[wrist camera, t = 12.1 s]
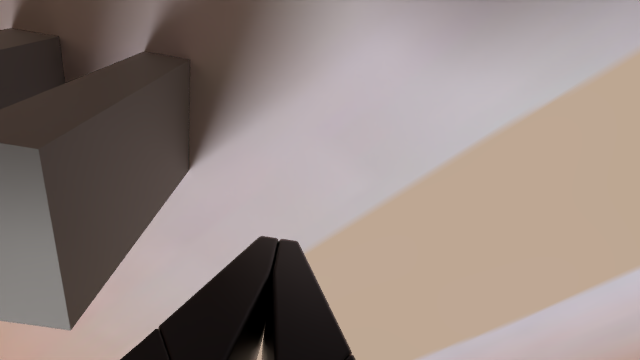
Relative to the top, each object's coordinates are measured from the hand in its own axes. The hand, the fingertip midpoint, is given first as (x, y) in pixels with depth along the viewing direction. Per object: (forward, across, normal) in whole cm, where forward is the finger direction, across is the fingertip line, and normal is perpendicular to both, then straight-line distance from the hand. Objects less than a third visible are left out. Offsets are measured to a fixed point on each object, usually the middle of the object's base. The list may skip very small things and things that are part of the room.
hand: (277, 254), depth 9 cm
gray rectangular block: (+7, +5, 0) cm, 9 cm away
